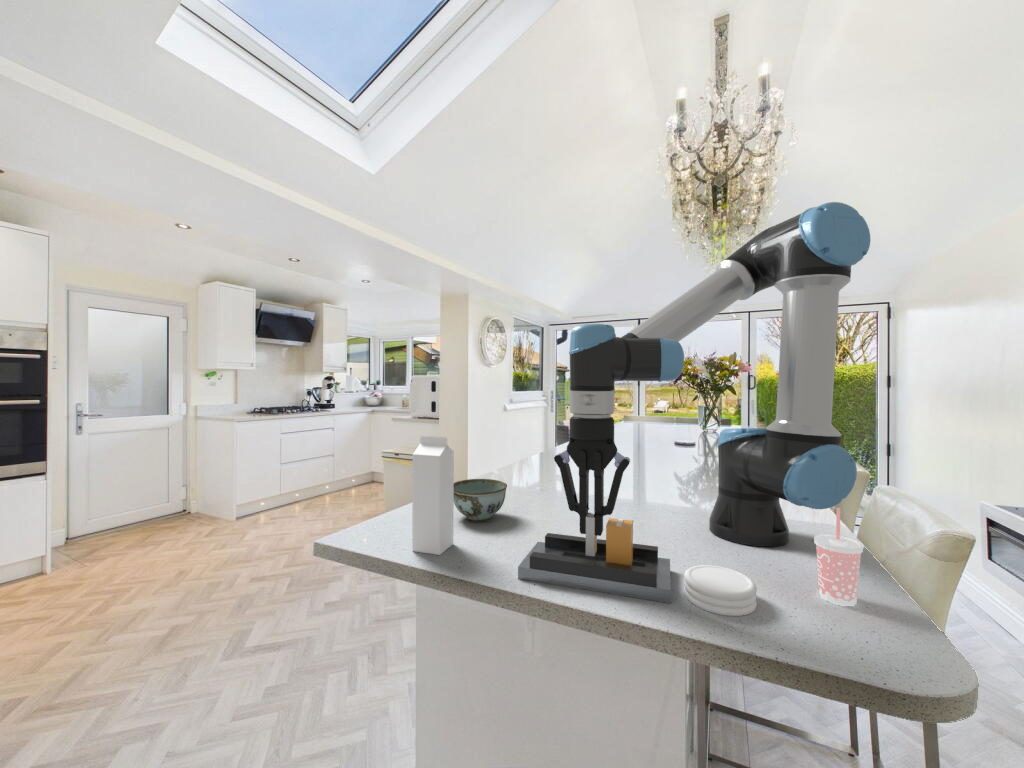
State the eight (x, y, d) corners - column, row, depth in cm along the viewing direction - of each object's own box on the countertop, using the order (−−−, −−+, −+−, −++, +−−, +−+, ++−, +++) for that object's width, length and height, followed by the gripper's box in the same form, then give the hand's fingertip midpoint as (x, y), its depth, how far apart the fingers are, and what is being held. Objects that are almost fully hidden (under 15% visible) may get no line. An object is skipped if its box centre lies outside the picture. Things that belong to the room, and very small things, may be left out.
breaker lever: (632, 561, 75) (633, 519, 75) (630, 571, 71) (631, 527, 71) (608, 558, 76) (609, 517, 76) (605, 567, 72) (606, 524, 72)
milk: (427, 541, 90) (427, 434, 90) (454, 544, 88) (454, 435, 88) (411, 551, 85) (411, 437, 84) (439, 555, 83) (440, 438, 83)
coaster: (765, 601, 67) (766, 578, 67) (742, 626, 60) (743, 601, 60) (699, 579, 74) (699, 558, 74) (672, 600, 67) (672, 577, 67)
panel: (669, 570, 77) (670, 547, 77) (670, 603, 65) (670, 576, 65) (537, 551, 85) (537, 531, 85) (517, 578, 73) (518, 554, 73)
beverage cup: (808, 586, 71) (809, 500, 71) (855, 594, 68) (856, 504, 68) (818, 604, 65) (819, 511, 65) (869, 613, 63) (870, 516, 63)
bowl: (483, 506, 115) (483, 476, 115) (518, 518, 105) (518, 485, 105) (439, 517, 105) (439, 484, 105) (473, 532, 96) (473, 495, 95)
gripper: (549, 416, 74) (548, 556, 74) (629, 418, 69) (628, 567, 70) (559, 413, 81) (559, 540, 81) (632, 415, 76) (632, 549, 77)
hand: (591, 552), depth 75 cm, fingers closed
